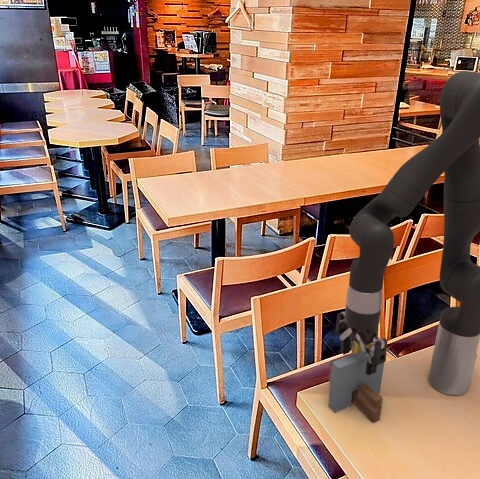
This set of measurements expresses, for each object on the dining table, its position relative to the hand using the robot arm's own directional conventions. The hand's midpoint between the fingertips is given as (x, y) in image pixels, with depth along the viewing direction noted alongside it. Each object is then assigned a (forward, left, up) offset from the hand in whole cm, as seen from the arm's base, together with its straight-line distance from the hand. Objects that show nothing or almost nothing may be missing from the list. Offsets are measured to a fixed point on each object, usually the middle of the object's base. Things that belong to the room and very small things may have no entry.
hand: (357, 362), depth 106 cm
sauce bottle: (-11, -9, -11) cm, 18 cm away
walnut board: (0, 0, -11) cm, 11 cm away
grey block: (0, 0, -11) cm, 11 cm away
